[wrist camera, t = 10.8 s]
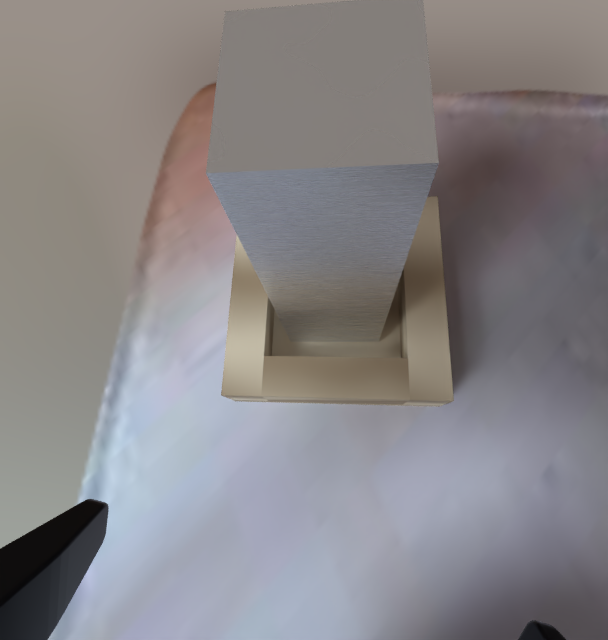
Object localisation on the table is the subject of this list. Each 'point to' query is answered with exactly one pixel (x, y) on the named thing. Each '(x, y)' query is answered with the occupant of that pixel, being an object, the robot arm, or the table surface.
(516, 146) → the table surface
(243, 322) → the socket block
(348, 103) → the steel bar
